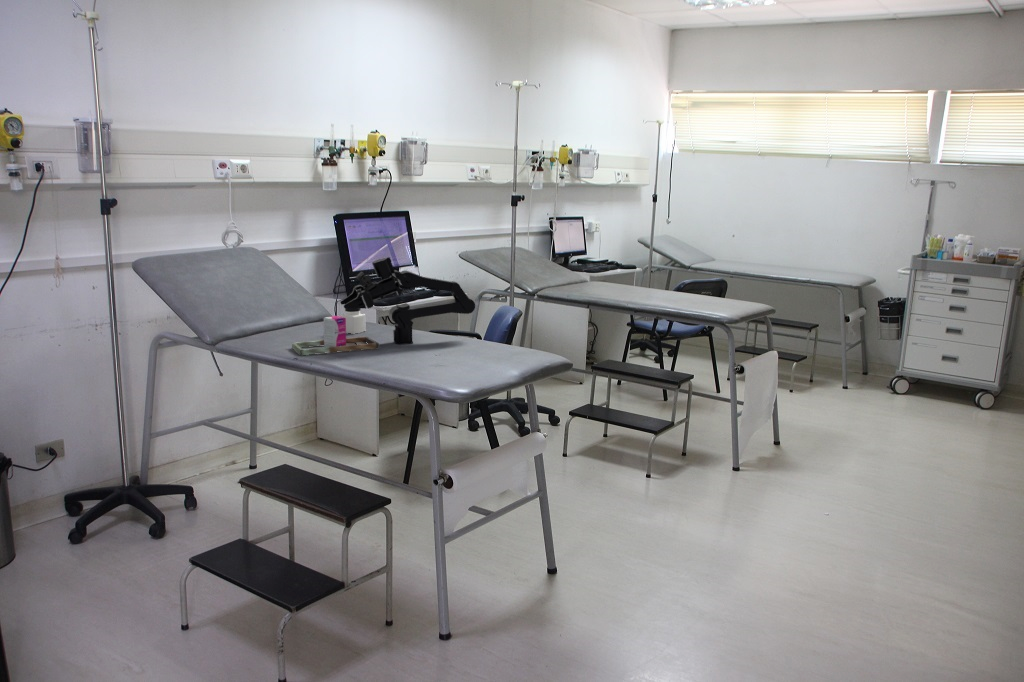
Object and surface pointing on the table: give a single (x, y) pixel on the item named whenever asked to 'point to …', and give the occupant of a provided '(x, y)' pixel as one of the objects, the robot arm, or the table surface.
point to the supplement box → (334, 331)
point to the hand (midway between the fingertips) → (342, 305)
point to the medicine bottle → (354, 320)
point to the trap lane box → (349, 346)
